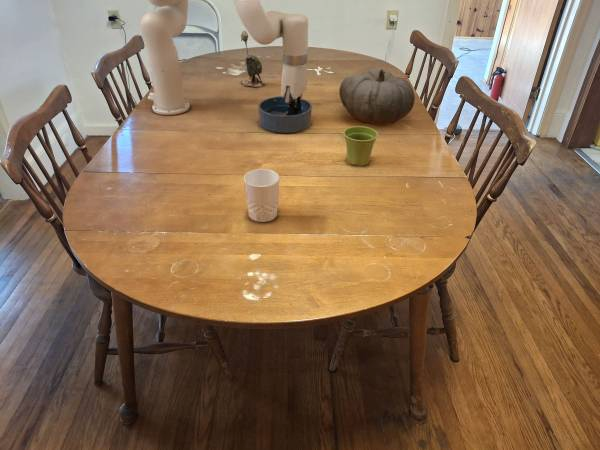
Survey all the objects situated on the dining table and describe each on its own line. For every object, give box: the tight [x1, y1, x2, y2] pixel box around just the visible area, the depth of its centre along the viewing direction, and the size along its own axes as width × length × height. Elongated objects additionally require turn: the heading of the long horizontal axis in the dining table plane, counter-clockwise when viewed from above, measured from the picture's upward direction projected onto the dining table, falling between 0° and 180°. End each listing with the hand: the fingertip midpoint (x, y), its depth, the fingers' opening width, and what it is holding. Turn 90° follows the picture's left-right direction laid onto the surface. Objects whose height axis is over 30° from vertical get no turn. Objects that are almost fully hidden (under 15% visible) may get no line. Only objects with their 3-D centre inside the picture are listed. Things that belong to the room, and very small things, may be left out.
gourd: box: [338, 68, 416, 126], centre depth 152 cm, size 25×25×17 cm
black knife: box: [270, 111, 302, 116], centre depth 151 cm, size 11×2×2 cm, turn 66°
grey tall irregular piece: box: [240, 30, 266, 88], centre depth 175 cm, size 8×11×20 cm
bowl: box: [257, 95, 313, 134], centre depth 150 cm, size 17×17×6 cm
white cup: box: [243, 168, 280, 223], centre depth 106 cm, size 8×8×10 cm
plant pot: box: [342, 125, 379, 167], centre depth 128 cm, size 9×9×9 cm
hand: (294, 116), depth 150 cm, fingers closed on black knife, 2 cm apart
